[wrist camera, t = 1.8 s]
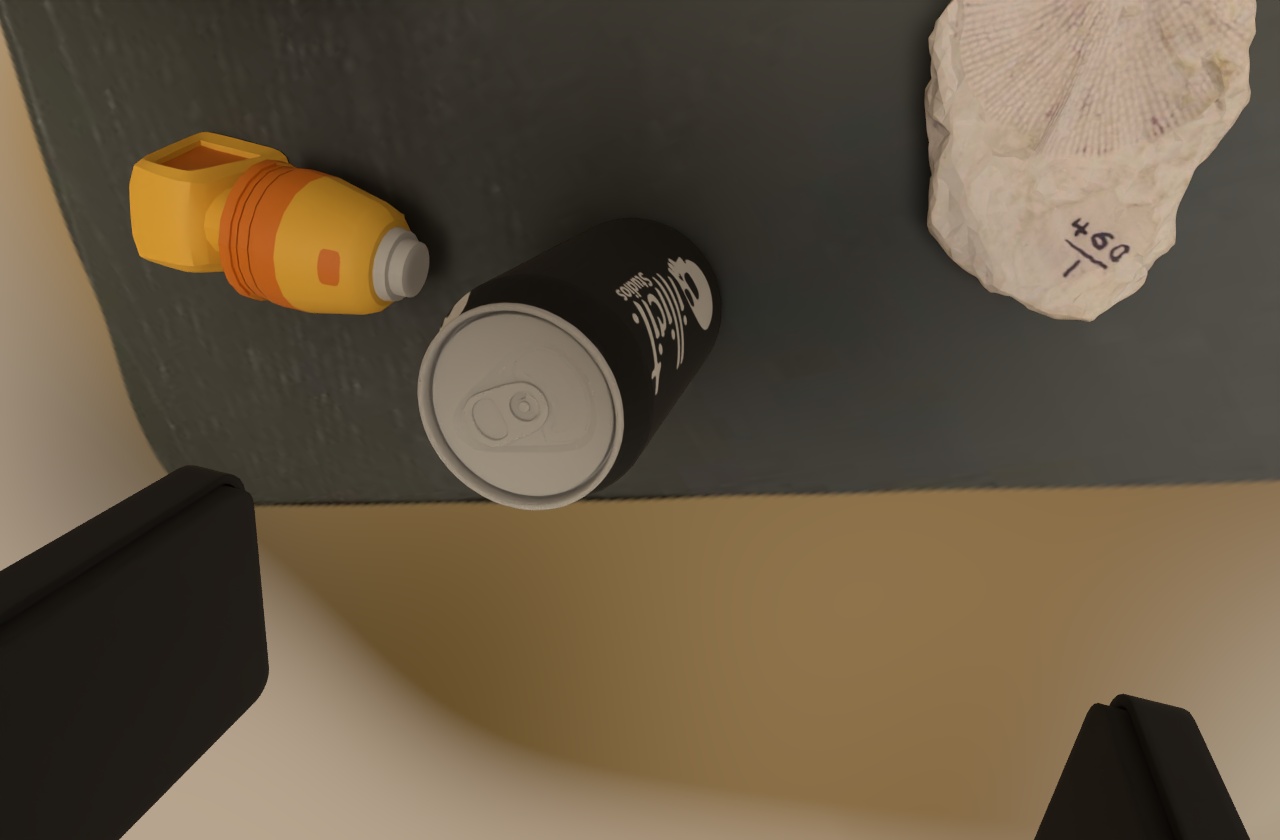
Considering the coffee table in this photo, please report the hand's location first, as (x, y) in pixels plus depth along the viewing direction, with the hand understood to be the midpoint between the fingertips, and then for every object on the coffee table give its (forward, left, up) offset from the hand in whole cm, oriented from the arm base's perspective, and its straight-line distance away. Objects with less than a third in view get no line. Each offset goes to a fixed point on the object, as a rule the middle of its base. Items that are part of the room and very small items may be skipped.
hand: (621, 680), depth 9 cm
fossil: (+6, +6, -24) cm, 25 cm away
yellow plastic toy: (-20, -3, -24) cm, 31 cm away
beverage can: (-6, -3, -24) cm, 25 cm away
